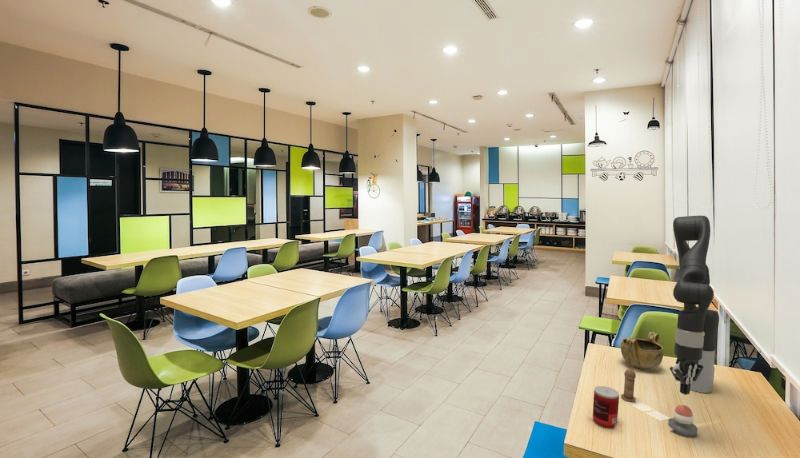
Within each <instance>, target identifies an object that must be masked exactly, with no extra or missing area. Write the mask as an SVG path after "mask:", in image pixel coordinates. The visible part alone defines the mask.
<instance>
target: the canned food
mask: <svg viewBox="0 0 800 458" xmlns="http://www.w3.org/2000/svg"><path fill="white" fill-rule="evenodd" d="M619 397H620V393H619V391H617V390H616V389H615V388H612V387H610V386H605V385H599V386H595V387H594V390H593V403H592V404H593V405H592V421H594V423H595V424H596V425H598V426H600V427H603V428H607V429H608V428H609V429H613V428H615V427H616V425H617V424H618V418H619V417H618V416H619V403H620V398H619Z"/></svg>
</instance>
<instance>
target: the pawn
mask: <svg viewBox="0 0 800 458" xmlns="http://www.w3.org/2000/svg"><path fill="white" fill-rule="evenodd" d="M623 374H624V384H623V385H624V387H623V388H624V389H623V393H622V394H621V395H620V396H621V399H622V400H621V399H620V400H621V401H623V400H624V401H623V402H625V401H626V402H625V403H627V402H630V403H631V404H635V403H634V402H636V400H637V398H636V397H635V396H634V395H635V394H634V393H635V382H636V381H635V379H636V377H637V375H636V372H635V371H634V370H632V369H626V370H625V371H624V373H623ZM636 403H637V402H636Z"/></svg>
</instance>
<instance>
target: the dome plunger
mask: <svg viewBox="0 0 800 458" xmlns="http://www.w3.org/2000/svg"><path fill="white" fill-rule="evenodd" d="M673 418H674V419H675V420H676V421H678V422H680V423H683V424H692V423H693V424H694V414H693V410H692V409H691V408H690V407H689V406H687V405H685V404H679V405H676V407H675V409H674V411H673Z"/></svg>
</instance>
